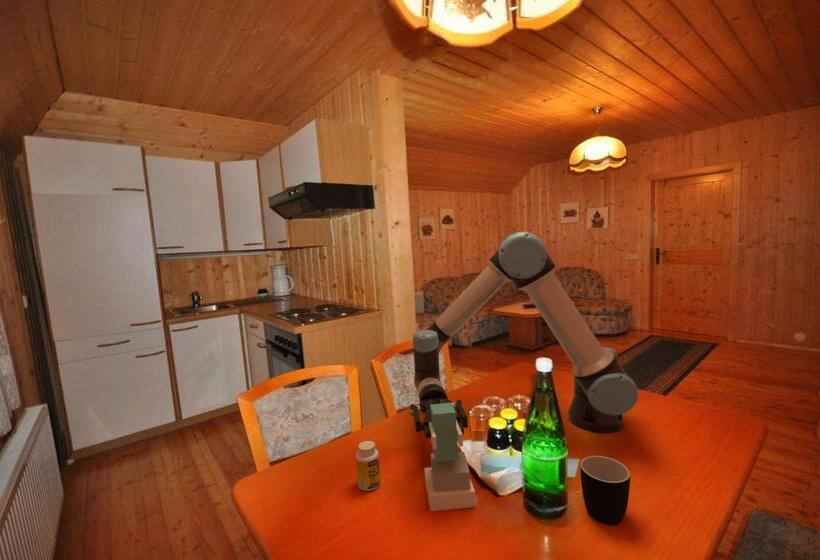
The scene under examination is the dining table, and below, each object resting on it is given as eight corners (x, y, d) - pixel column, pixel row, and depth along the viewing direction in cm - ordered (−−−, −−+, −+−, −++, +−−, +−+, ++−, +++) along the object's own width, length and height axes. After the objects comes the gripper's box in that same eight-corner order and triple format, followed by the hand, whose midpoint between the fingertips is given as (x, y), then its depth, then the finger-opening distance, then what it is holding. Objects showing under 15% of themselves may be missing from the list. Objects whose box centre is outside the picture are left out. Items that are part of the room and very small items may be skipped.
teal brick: (453, 447, 87) (451, 402, 86) (457, 459, 82) (455, 412, 81) (432, 449, 87) (430, 404, 86) (435, 461, 82) (433, 414, 81)
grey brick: (464, 467, 89) (464, 451, 88) (470, 489, 81) (469, 472, 81) (431, 469, 89) (430, 453, 89) (433, 491, 81) (433, 474, 81)
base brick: (465, 479, 91) (465, 464, 90) (475, 508, 81) (475, 491, 80) (425, 483, 90) (424, 468, 90) (430, 513, 80) (429, 496, 80)
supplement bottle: (370, 495, 86) (367, 454, 85) (353, 487, 89) (349, 447, 88) (385, 482, 91) (382, 442, 90) (368, 474, 94) (365, 436, 93)
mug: (639, 529, 72) (640, 480, 71) (594, 533, 72) (594, 484, 71) (605, 488, 84) (605, 446, 83) (566, 491, 84) (566, 449, 83)
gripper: (465, 406, 103) (490, 454, 80) (400, 412, 101) (406, 462, 78) (463, 380, 102) (488, 421, 79) (398, 386, 101) (404, 429, 77)
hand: (447, 441), depth 79 cm, fingers closed on teal brick, 5 cm apart
